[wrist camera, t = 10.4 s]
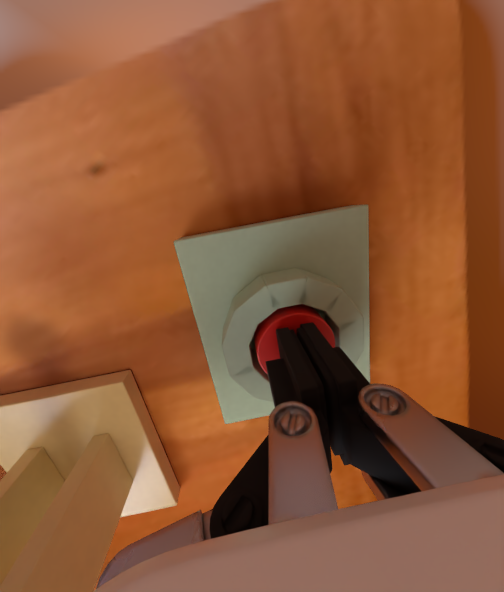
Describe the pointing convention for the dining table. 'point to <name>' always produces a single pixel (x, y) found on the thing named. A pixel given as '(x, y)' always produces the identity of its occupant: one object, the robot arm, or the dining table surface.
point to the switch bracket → (74, 479)
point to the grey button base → (276, 293)
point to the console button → (281, 319)
